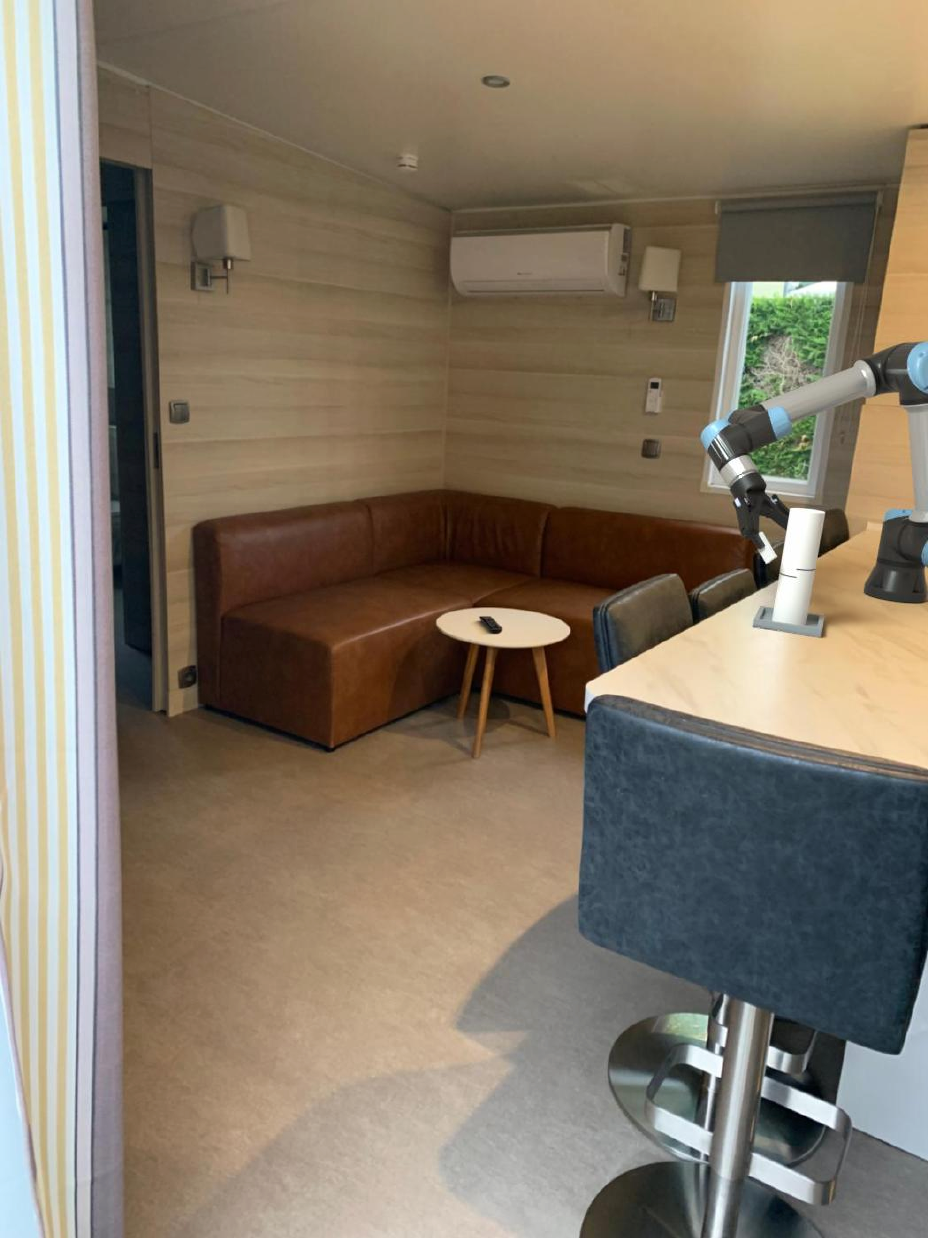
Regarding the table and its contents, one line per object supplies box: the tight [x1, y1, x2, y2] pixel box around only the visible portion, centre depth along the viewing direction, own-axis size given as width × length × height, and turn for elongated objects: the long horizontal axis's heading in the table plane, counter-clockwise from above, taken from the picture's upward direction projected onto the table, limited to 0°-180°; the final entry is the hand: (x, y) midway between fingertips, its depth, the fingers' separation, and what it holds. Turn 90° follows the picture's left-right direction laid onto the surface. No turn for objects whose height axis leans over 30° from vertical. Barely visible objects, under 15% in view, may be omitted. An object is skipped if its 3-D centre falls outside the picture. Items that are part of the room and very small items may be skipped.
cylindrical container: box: [772, 507, 826, 626], centre depth 195 cm, size 7×7×25 cm
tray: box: [752, 605, 825, 638], centre depth 198 cm, size 14×14×2 cm
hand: (790, 558), depth 196 cm, fingers open, 13 cm apart
